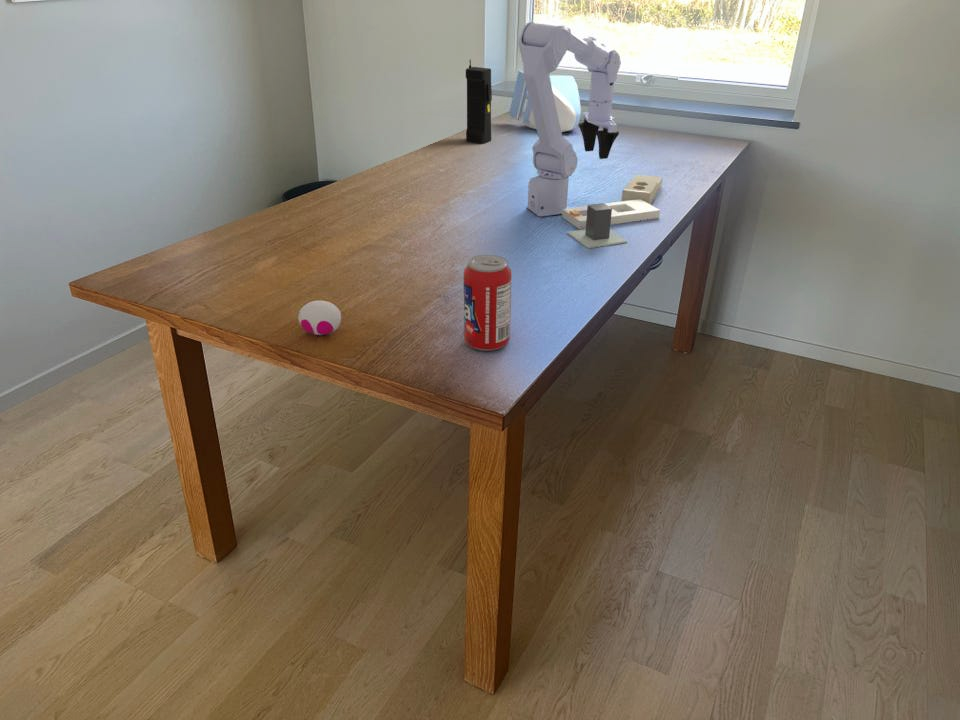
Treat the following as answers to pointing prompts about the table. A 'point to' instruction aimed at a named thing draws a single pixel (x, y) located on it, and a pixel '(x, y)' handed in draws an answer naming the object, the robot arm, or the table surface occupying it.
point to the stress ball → (319, 317)
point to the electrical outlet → (642, 188)
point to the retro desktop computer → (563, 96)
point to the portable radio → (478, 104)
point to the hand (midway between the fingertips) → (596, 154)
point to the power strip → (614, 213)
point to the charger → (598, 221)
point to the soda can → (487, 302)
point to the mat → (590, 243)
